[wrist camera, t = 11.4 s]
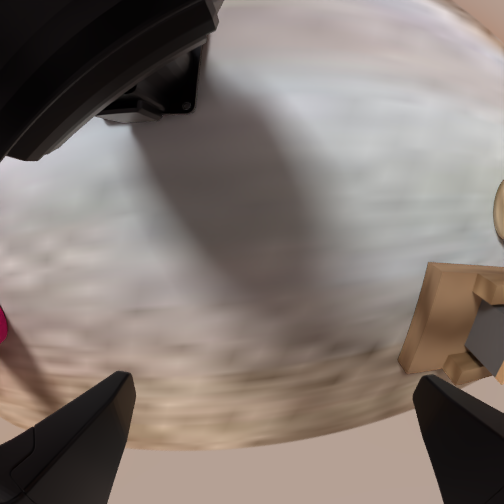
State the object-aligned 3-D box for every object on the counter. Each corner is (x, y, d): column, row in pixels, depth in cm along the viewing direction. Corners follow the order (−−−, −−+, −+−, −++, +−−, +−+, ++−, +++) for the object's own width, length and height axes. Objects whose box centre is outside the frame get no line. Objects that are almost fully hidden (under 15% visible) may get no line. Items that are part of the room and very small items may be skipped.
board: (428, 262, 20) (462, 285, 15) (508, 267, 20) (538, 285, 16) (397, 360, 22) (419, 393, 18) (478, 348, 23) (501, 372, 18)
